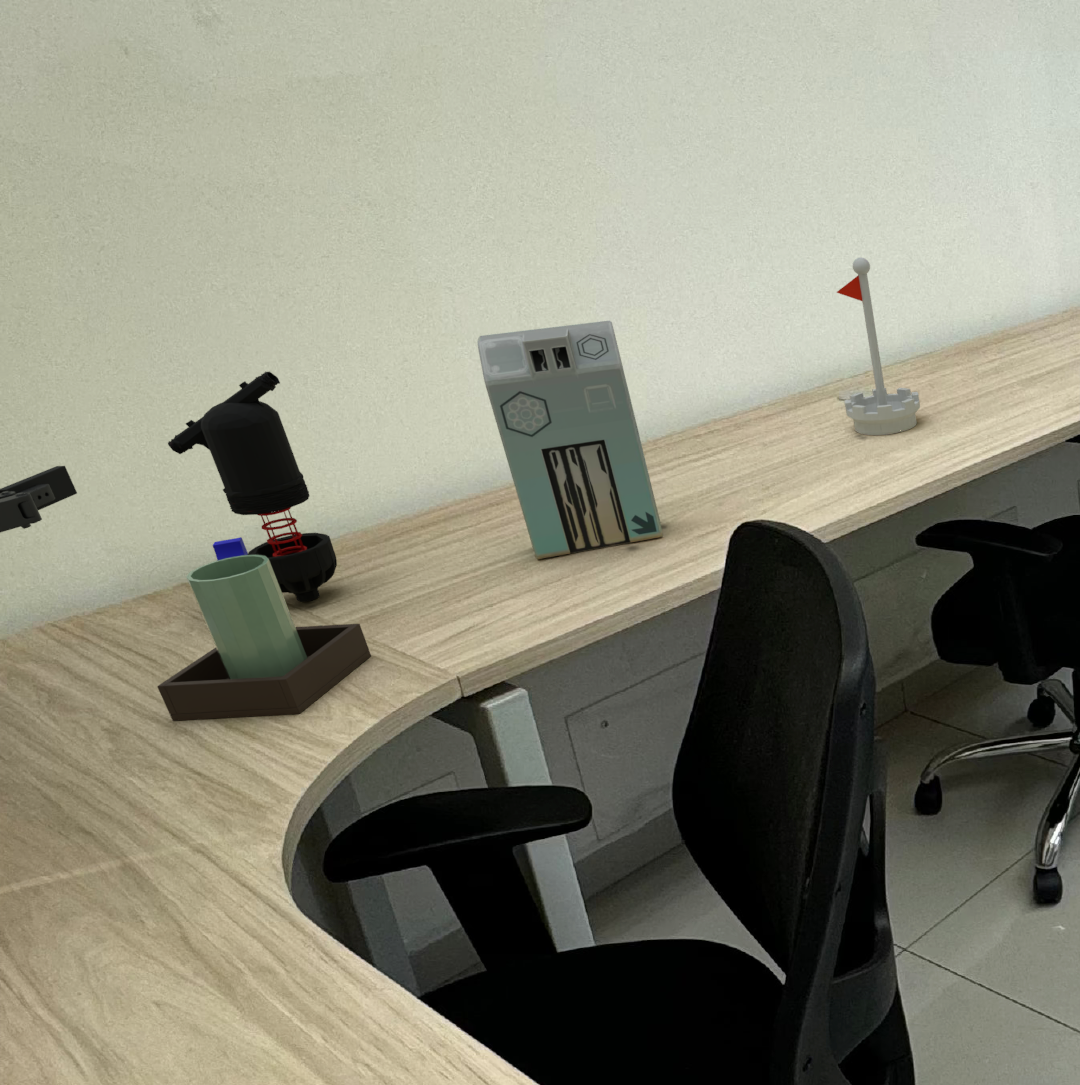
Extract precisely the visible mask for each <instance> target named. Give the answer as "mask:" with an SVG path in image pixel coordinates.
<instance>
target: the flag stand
mask: <svg viewBox="0 0 1080 1085" xmlns="http://www.w3.org/2000/svg"><path fill="white" fill-rule="evenodd" d="M870 269H871V263H870V262H869V260H868V259H866V258H865V257H861V256H860V257H857V258H855V259H854V260H853V261H852V270H853V271H854V273H856V274H857V276H855V277H854V278H852V280H850V281H849V282H848V283H846V284H845V285H844V286H842V287H841V288H840V289H839V290H837V291H836V293H837V294H840V295H843V296H844V297H845V296H846V297H847V298H848V297H849V298H852V299H854V300H857V301H860V302H861V303H862V309H863V315H864V322H865V329H866V334H867V340H868V341H867V342H868V348H869V353H870V360H871V366H872V372H873V379H874V385H875V388H874V389H871V392H872V395H869V396H865V397H864V393H863V392H856V393H852V394H851V395H849V399H844V400H843V401H844V402H843V403H844V408H845V414H846V416H847V417H848V418H850V419H851V420H853V426H854V430H855V432H857V433H858V434H860V435H867V436H886V435H892V434H897V433H898V434H899V433H902V432H906V431H909V430H911V429H913V428H915V427H916V426H917V416H916V414H917V412H918V411H919V409H920V408H921V402H920V395H919V392H918V391H912V392H911V388H907V387H897V388H896V393H888V392H887V387H885V382H884V376H883V370H882V362H881V355H880V349H879V344H878V337H877V336H878V335H877V331H876V330H877V329H876V323H875V317H874V311H873V303H872V296H871V291H870V284H869V278H868V273H869V272H870ZM900 430H901V431H900Z"/></svg>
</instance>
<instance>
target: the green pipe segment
mask: <svg viewBox="0 0 1080 1085" xmlns="http://www.w3.org/2000/svg"><path fill="white" fill-rule="evenodd" d="M188 572H189V573H187V575H186V576H185V578H186V580H187V583H188V585H189V587H190V590H191V592H192V595H193V597H194V599H195V601H196V604H197V606H198V609H199V611H200V613H201V616H202V618H203V621H204V623H205V625H206V628H207V629H208V632H209V635H210V636H211V639H212V641H213V644H214V646H215V648H216V649H217V651H218V653H219V656H220V658H221V661H222V663H223V665H224V668H225V670H226V672H227V675H228V677H229V679H243V678H261V677H280V676H284V675H285V674H287V673H288V672H289V671H291V670H292V669H293V668H295V667H296V666H297V665H299V664H300V663H301V662H303V661H304V660H305V659H307V656H306V653H305V651H304V648H303V645H302V643H301V640H300V638H299V635H298V633H297V630H296V627H297V626H296V625H295V623H294V620H293V617H292V614H291V612H290V610H289V607H288V605H287V602H286V599H285V597H284V593H282V592H281V589H280V586H279V584H278V581H277V579H276V576H275V574H274V571H273V569H272V566H271V563H270V561H269V559H268V558H267V557H266V556H263V555H242V556H236V557H230V558H225V559H221V560H214V561H211V562H208V563H206V564H203V565H199V567H196V568H194V569H192V570H191V571H188Z"/></svg>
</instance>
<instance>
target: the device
mask: <svg viewBox="0 0 1080 1085" xmlns="http://www.w3.org/2000/svg"><path fill="white" fill-rule="evenodd" d="M476 341H477V350H478V356H479V361H480V366H481V371H482V376H483V382H484V384H485V388H486V393H487V395H488V398H489V402H490V406H491V409H492V412H493V417H494V420H495V423H496V426H497V429H498V433H499V436H500V440H501V444H502V447H503V450H504V453H505V454H504V455H505V458H506V461H507V464H508V467H509V468H508V469H509V472H510V474H511V478H512V481H513V485H514V488H515V491H516V495H517V499H518V502H519V505H520V509H521V513H522V515H523V516H522V517H523V519H524V522H525V525H526V526H525V527H526V529H527V533H528V536H529V539H530V540H529V541H530V543H531V546H532V550H533V553H534V556H535V559H536V560H542V559H549V558H554V557H559V556H565V555H570V554H576V553H581V552H582V553H583V552H587V551H592V550H593V551H594V550H597V549H603V548H608V547H614V546H620V545H624V544H631V543H636V542H641V541H642V542H643V541H647V540H648V541H649V540H652V539H658V538H662V537H663V535H664V534H663V529H662V524H661V523H662V522H661V518H660V515H659V511H658V506H657V502H656V499H655V494H654V489H653V486H652V482H651V478H650V474H649V470H648V465H647V462H646V461H647V460H646V456H645V453H644V449H643V445H642V444H643V443H642V441H641V436H640V432H639V429H638V425H637V421H636V415H635V412H634V408H633V404H632V400H631V396H630V391H629V387H628V384H627V378H626V375H625V370H624V367H623V362H622V358H621V354H620V350H619V345H618V341H617V338H616V333H615V329H614V325H613V322H612V321H611V320H610V319H609V320H602V321H593V322H586V323H585V322H583V323H577V324H568V325H567V324H566V325H560V326H559V325H558V326H550V327H543V328H542V327H541V328H536V329H525V330H519V331H518V330H517V331H510V332H509V331H508V332H502V333H501V332H500V333H493V334H492V333H491V334H485V335H479V337H478V338H477V340H476Z"/></svg>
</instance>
